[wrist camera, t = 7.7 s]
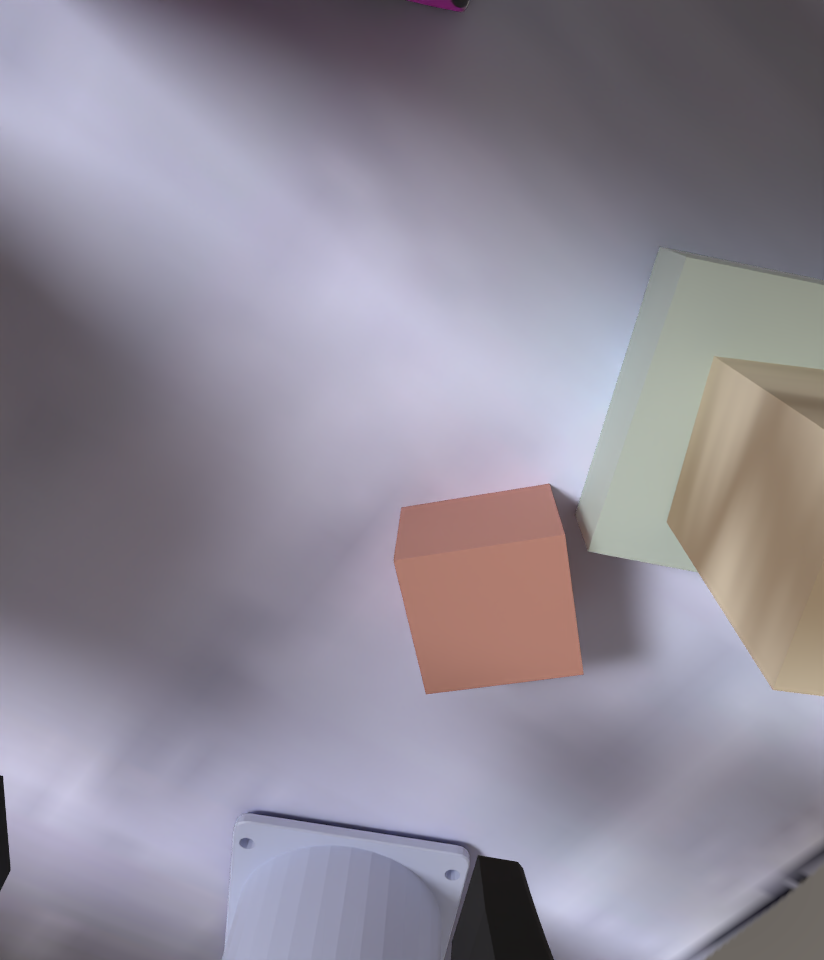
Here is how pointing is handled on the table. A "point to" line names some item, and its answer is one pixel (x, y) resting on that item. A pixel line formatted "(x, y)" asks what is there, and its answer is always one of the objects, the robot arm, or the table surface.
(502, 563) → the block
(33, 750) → the table surface
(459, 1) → the candy bar box
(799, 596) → the beech block
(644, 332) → the base block
